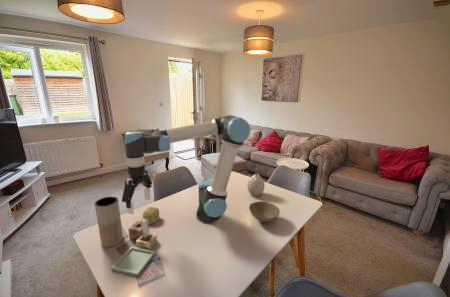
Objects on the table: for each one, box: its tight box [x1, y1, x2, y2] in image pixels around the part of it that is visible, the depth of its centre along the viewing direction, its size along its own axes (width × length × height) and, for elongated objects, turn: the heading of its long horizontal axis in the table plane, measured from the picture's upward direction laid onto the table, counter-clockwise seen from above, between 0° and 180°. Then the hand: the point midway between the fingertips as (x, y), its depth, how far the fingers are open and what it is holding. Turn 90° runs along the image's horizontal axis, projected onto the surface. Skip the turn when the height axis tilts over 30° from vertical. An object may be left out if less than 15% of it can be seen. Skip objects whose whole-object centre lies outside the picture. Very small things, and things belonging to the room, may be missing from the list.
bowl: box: [248, 200, 281, 223], centre depth 122 cm, size 18×18×8 cm
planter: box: [94, 195, 124, 248], centre depth 101 cm, size 10×10×23 cm
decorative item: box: [142, 206, 160, 225], centre depth 121 cm, size 10×10×10 cm
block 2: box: [135, 232, 158, 250], centre depth 101 cm, size 7×7×4 cm
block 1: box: [128, 220, 150, 241], centre depth 107 cm, size 7×7×6 cm
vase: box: [246, 173, 265, 197], centre depth 153 cm, size 13×13×17 cm
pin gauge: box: [140, 218, 150, 242], centre depth 100 cm, size 3×3×14 cm
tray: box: [110, 245, 156, 277], centre depth 91 cm, size 13×13×2 cm
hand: (139, 205), depth 99 cm, fingers open, 13 cm apart
